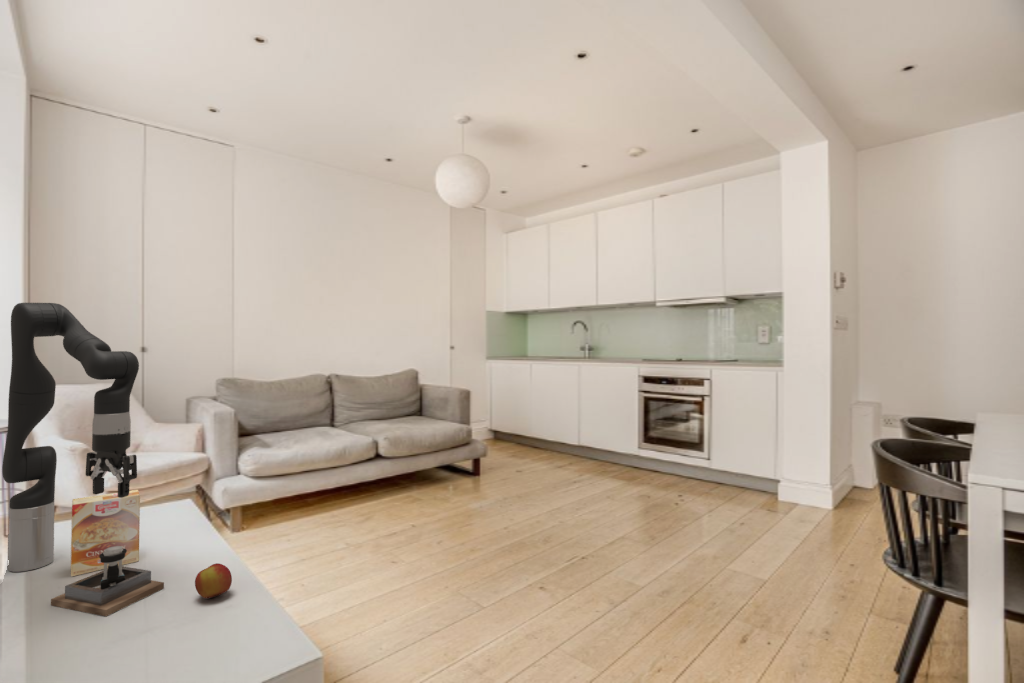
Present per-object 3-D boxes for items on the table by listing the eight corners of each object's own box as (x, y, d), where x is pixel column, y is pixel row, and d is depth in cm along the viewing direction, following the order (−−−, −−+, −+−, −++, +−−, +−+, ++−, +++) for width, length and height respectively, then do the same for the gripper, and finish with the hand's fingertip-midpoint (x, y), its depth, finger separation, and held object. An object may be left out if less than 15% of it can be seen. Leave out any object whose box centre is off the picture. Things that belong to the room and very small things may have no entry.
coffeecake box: (70, 577, 134) (71, 504, 134) (70, 568, 139) (71, 498, 140) (139, 561, 144) (140, 493, 144) (137, 554, 149) (138, 488, 149)
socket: (64, 598, 119) (65, 586, 119) (116, 576, 131) (116, 565, 131) (101, 605, 116) (101, 592, 116) (150, 582, 128) (151, 570, 128)
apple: (225, 586, 129) (226, 555, 129) (235, 597, 123) (235, 564, 123) (191, 596, 123) (191, 564, 124) (199, 608, 118) (200, 574, 118)
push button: (92, 598, 119) (92, 556, 120) (91, 590, 123) (91, 549, 124) (127, 589, 124) (127, 549, 124) (125, 582, 128) (125, 542, 128)
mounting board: (50, 605, 119) (50, 599, 119) (112, 579, 133) (112, 573, 133) (105, 616, 114) (106, 610, 114) (163, 588, 128) (163, 582, 128)
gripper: (74, 431, 124) (73, 496, 124) (117, 434, 120) (116, 502, 120) (106, 426, 131) (106, 488, 131) (147, 429, 127) (146, 493, 127)
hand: (110, 495), depth 125 cm, fingers open, 8 cm apart
